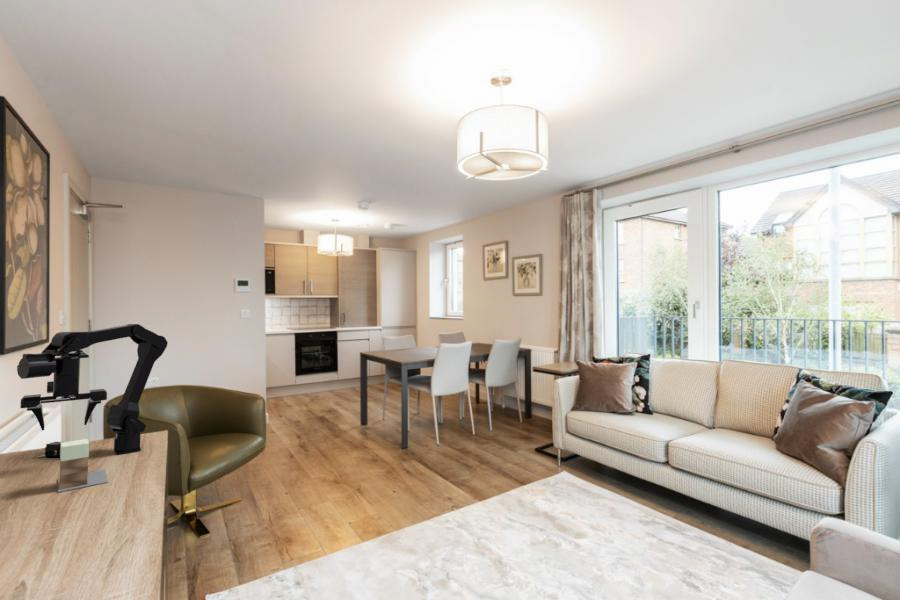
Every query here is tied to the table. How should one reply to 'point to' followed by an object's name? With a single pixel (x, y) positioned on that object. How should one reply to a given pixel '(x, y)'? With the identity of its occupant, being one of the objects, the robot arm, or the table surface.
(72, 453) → the sage block
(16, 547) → the table surface
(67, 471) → the walnut block upper
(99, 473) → the slate mat
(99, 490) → the table surface
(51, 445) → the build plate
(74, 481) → the walnut block lower
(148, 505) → the table surface
